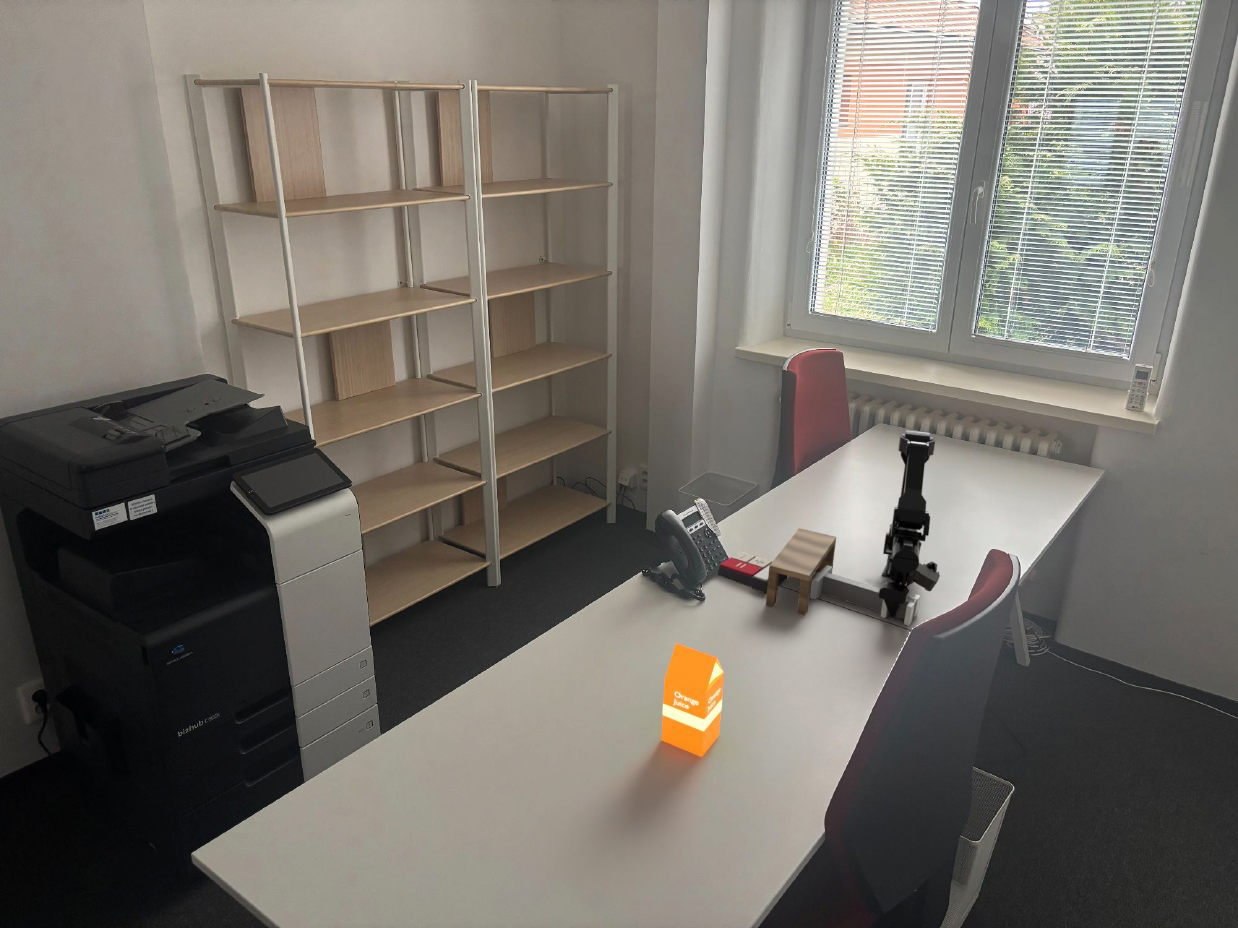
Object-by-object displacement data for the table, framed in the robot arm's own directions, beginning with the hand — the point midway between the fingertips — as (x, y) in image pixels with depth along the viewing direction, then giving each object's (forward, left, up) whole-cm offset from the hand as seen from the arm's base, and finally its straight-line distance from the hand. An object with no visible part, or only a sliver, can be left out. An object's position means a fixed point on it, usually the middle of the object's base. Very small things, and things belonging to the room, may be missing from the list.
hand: (895, 610), depth 213 cm
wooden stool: (0, -24, -1) cm, 24 cm away
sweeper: (0, -8, -1) cm, 8 cm away
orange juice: (+67, -25, -1) cm, 72 cm away
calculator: (0, -37, -2) cm, 37 cm away
